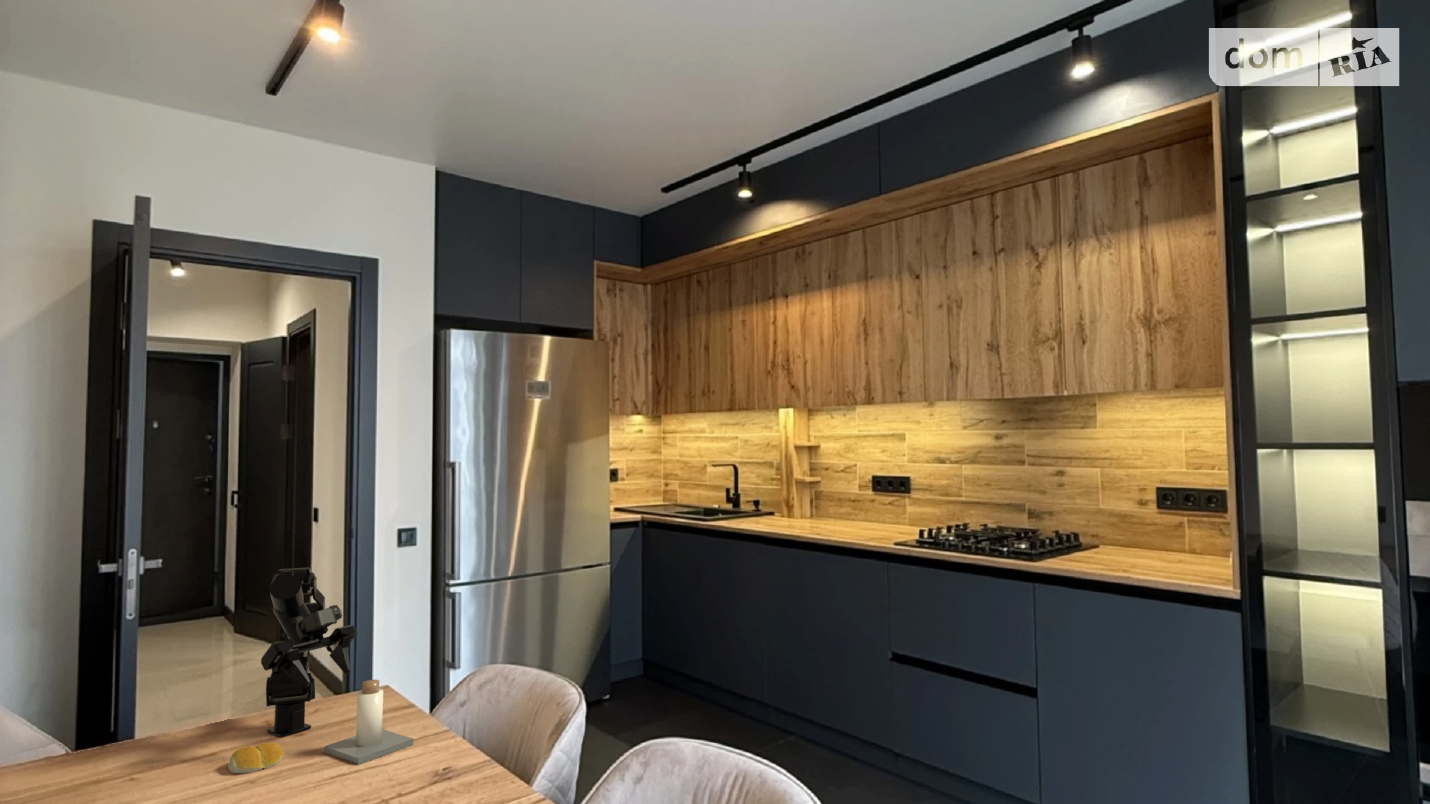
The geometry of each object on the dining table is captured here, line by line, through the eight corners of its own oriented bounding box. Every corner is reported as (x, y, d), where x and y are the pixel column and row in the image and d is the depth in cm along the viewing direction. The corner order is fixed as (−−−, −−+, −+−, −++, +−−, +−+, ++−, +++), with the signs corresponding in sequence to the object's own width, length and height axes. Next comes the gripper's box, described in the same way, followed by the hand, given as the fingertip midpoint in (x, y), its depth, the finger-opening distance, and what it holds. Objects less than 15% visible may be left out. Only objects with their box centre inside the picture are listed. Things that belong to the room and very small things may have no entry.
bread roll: (288, 764, 145) (289, 743, 145) (235, 779, 138) (236, 756, 138) (275, 753, 150) (275, 732, 151) (223, 766, 144) (224, 745, 144)
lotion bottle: (350, 745, 150) (352, 684, 151) (365, 737, 154) (367, 678, 155) (372, 747, 149) (374, 686, 150) (386, 738, 154) (388, 678, 155)
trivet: (323, 752, 150) (324, 746, 150) (378, 733, 160) (378, 728, 160) (358, 764, 143) (358, 758, 143) (413, 744, 153) (413, 738, 153)
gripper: (272, 602, 149) (306, 664, 144) (353, 588, 166) (386, 643, 160) (246, 638, 152) (278, 701, 146) (328, 621, 169) (360, 676, 163)
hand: (329, 678), depth 154 cm, fingers open, 9 cm apart
